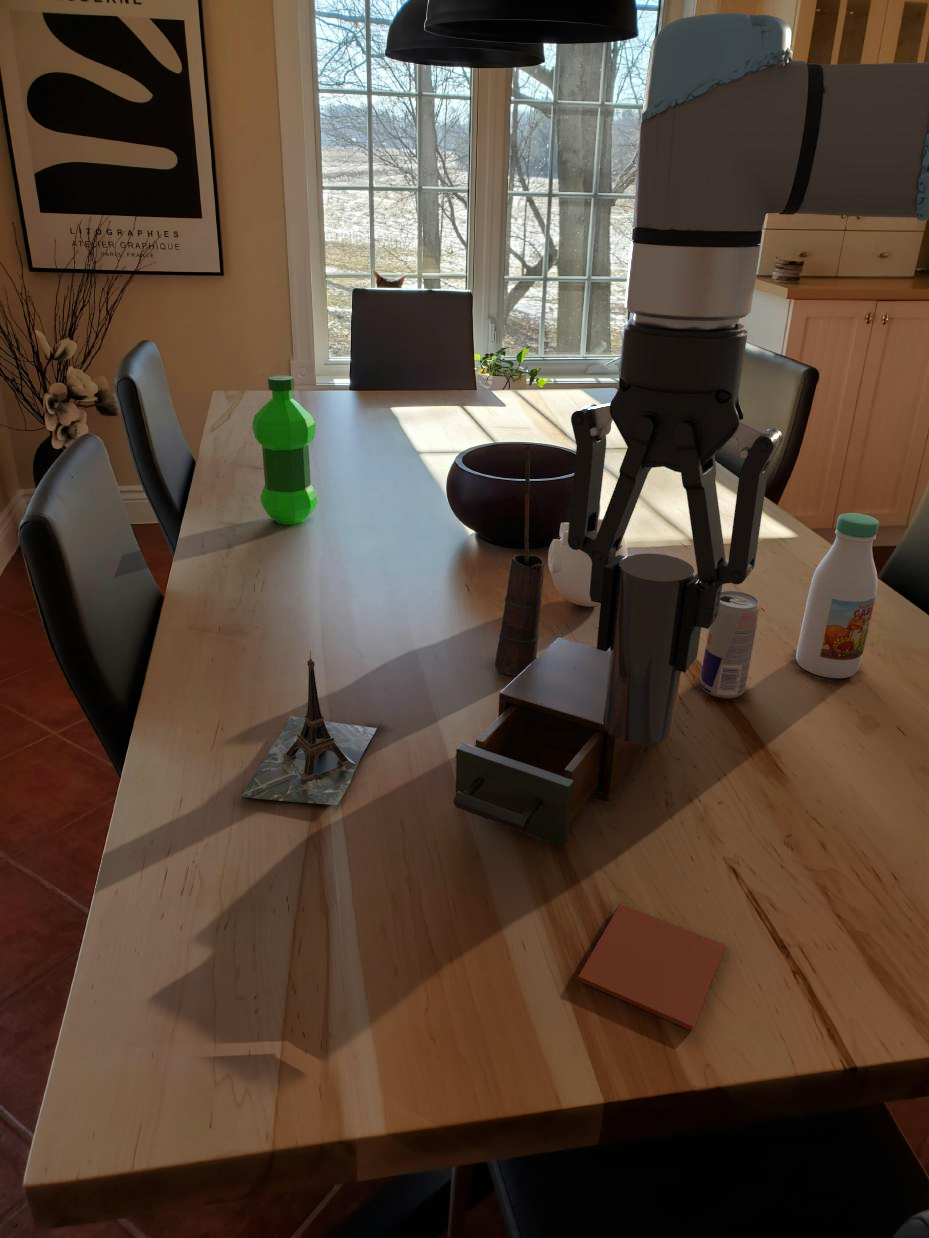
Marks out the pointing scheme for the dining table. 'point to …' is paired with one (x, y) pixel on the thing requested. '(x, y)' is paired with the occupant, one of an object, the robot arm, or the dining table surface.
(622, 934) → the coaster
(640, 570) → the dark grey cylinder
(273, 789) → the eiffel tower figurine
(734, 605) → the energy drink
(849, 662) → the milk bottle
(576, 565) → the piggy bank
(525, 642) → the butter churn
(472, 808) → the drawer
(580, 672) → the cabinet
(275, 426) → the plastic bottle
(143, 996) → the dining table surface
